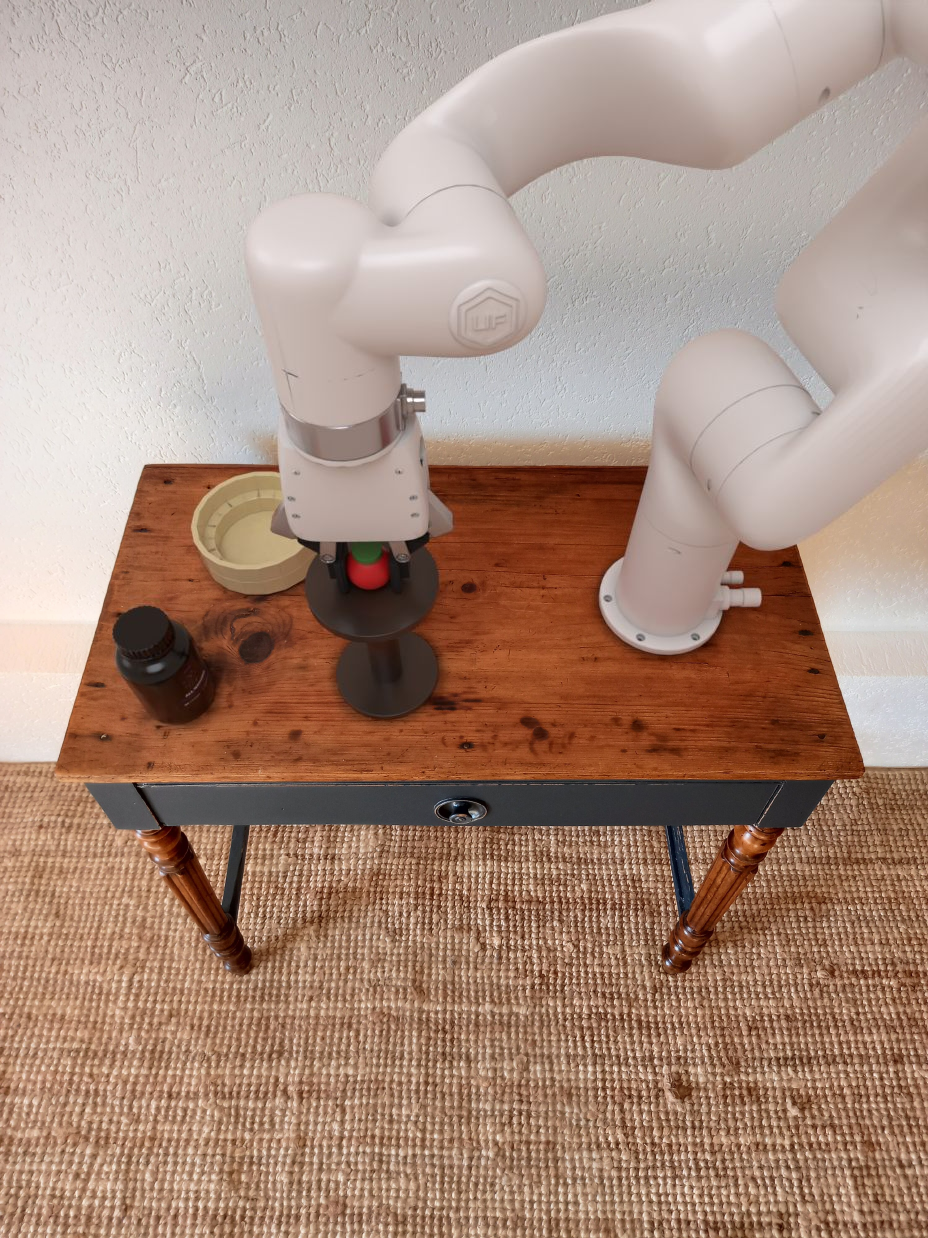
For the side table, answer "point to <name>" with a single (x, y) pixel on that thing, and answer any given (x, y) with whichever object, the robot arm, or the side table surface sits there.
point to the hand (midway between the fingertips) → (371, 577)
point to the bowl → (247, 536)
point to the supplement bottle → (162, 665)
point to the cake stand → (380, 637)
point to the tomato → (368, 565)
